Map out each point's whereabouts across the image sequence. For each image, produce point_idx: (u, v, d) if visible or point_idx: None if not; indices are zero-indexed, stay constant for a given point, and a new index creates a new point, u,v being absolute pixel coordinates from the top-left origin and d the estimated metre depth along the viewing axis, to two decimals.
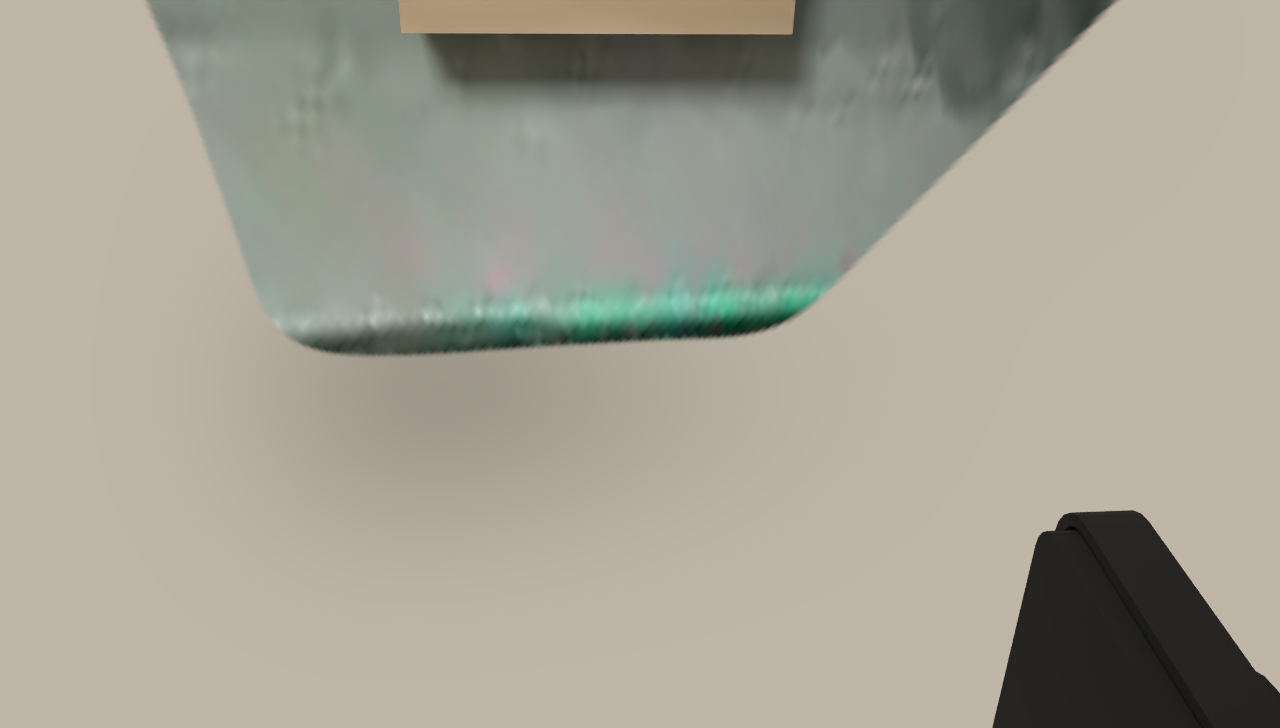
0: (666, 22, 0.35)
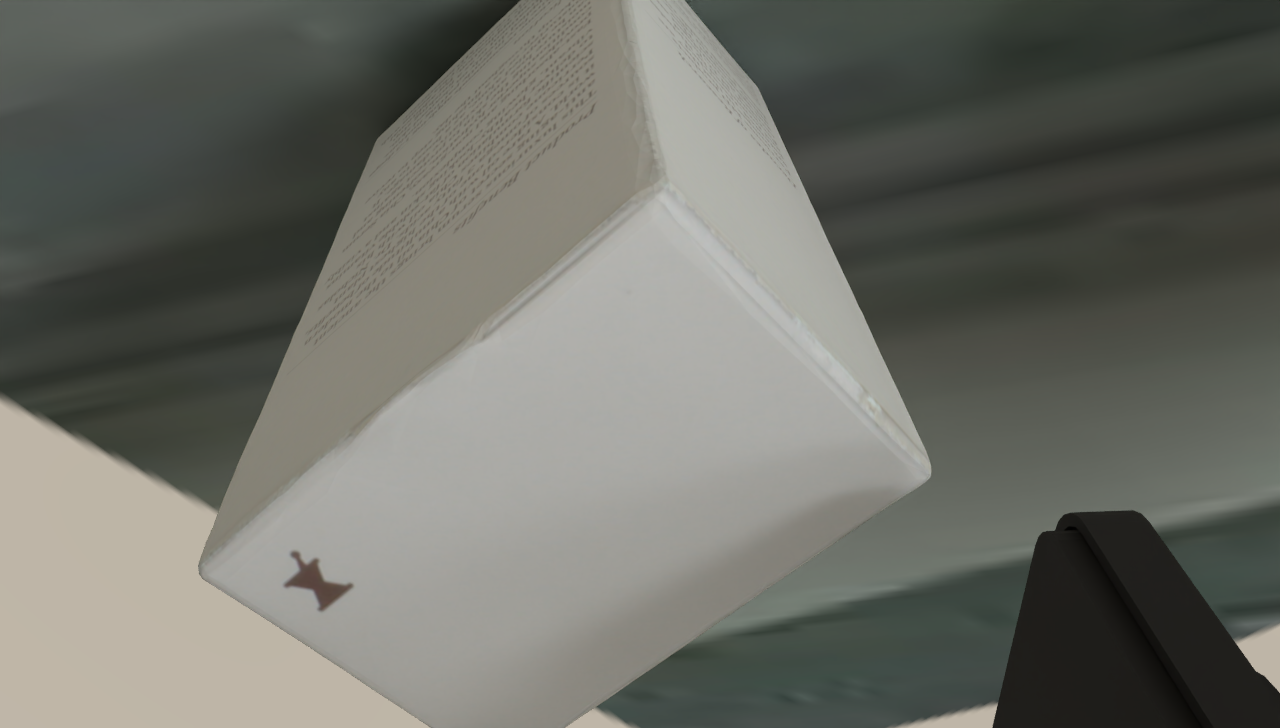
0: None
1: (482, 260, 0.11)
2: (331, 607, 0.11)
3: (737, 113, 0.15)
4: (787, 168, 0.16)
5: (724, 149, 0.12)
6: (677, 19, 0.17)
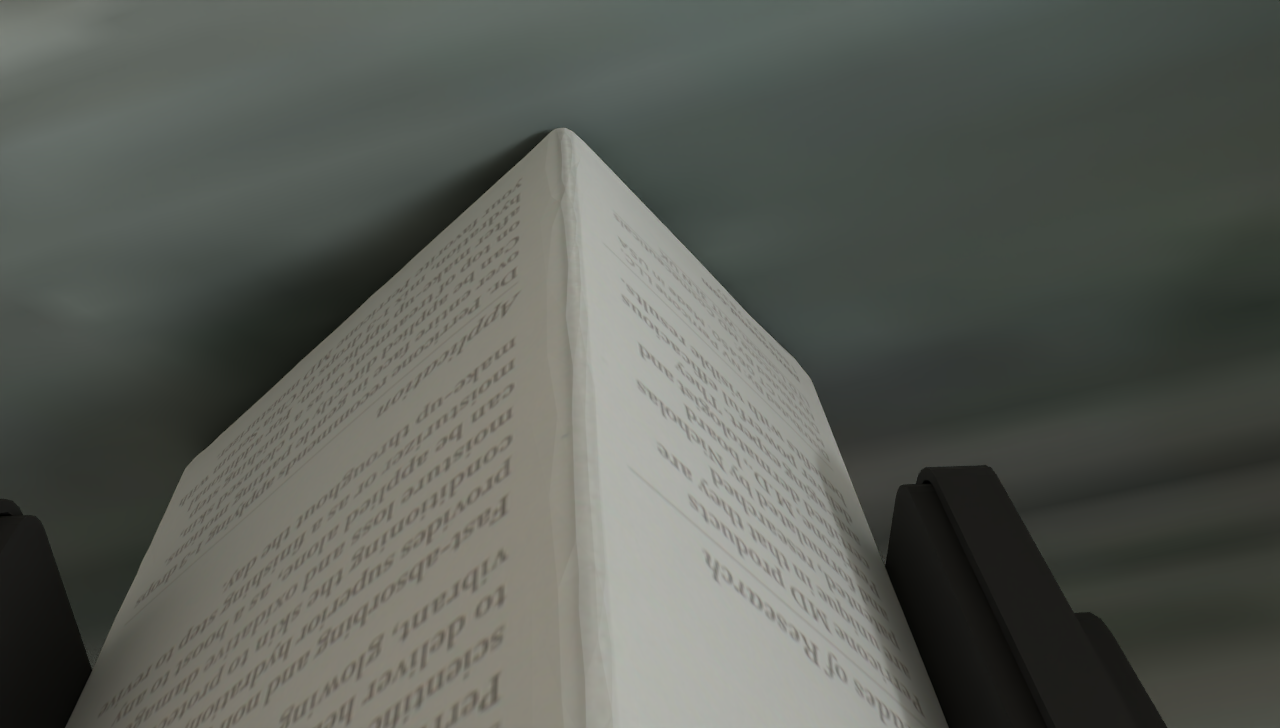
0: None
1: None
2: None
3: (822, 622, 0.07)
4: (913, 686, 0.08)
5: None
6: (688, 369, 0.09)
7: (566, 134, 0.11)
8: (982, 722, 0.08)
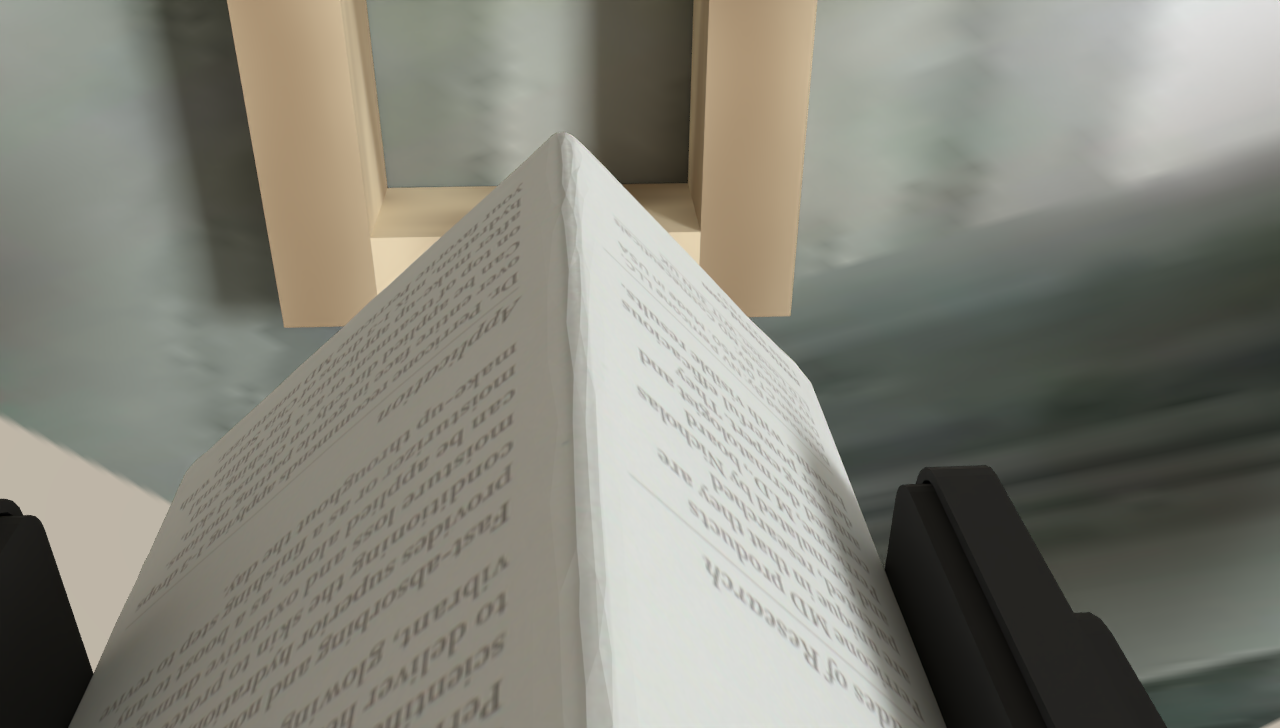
0: (272, 168, 0.25)
1: None
2: None
3: (822, 627, 0.07)
4: (912, 691, 0.08)
5: None
6: (689, 375, 0.09)
7: (567, 139, 0.11)
8: (982, 722, 0.08)
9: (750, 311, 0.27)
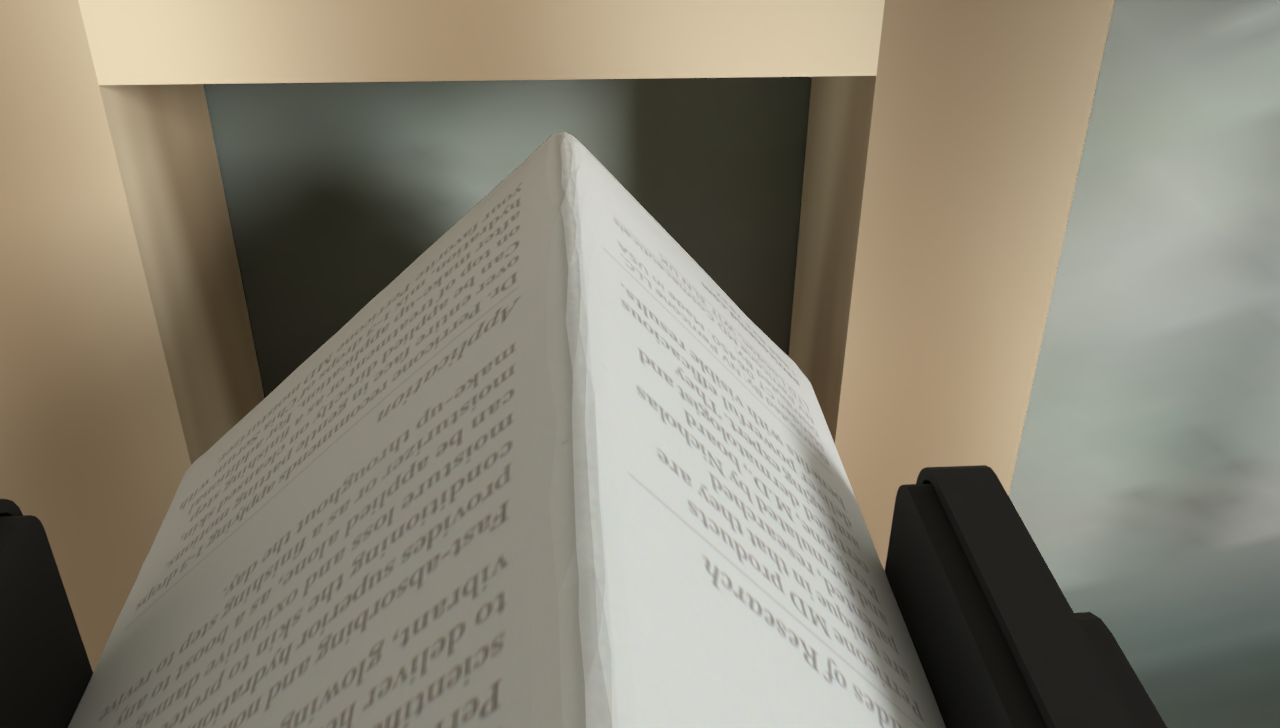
0: None
1: None
2: None
3: (821, 627, 0.07)
4: (912, 691, 0.08)
5: None
6: (688, 374, 0.09)
7: (566, 139, 0.11)
8: (982, 722, 0.08)
9: None
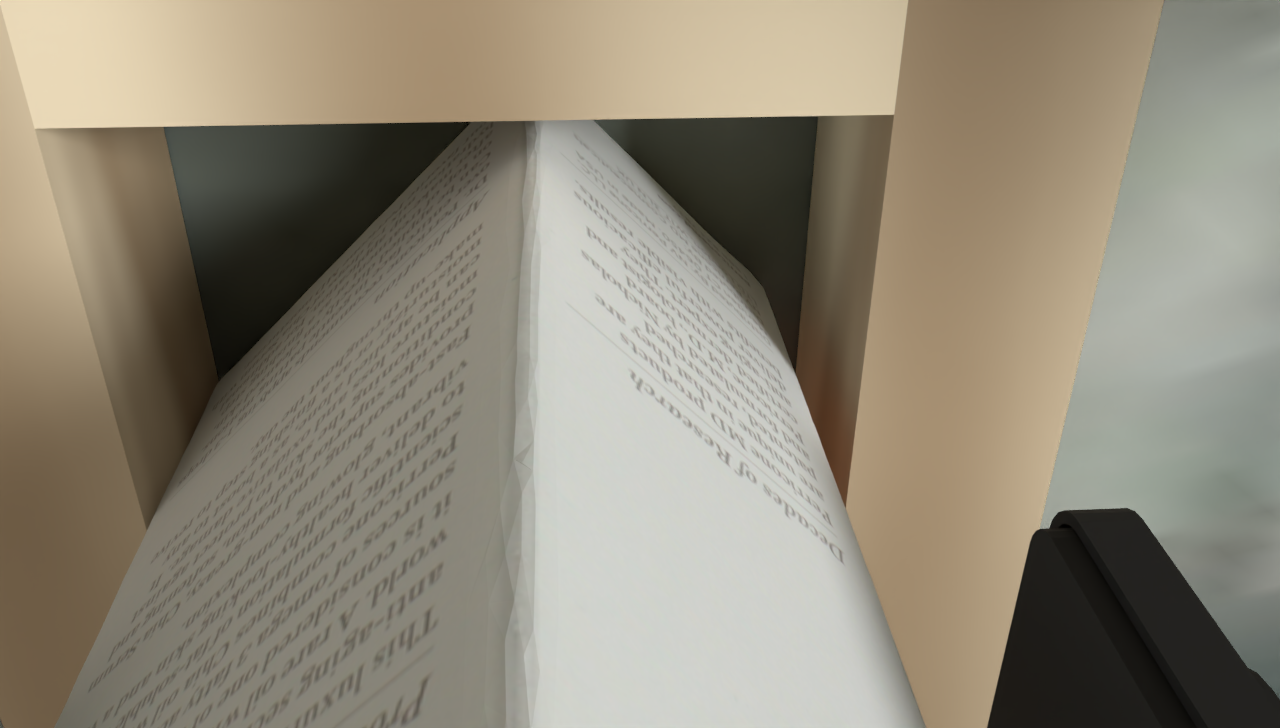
0: None
1: None
2: None
3: (738, 442, 0.09)
4: (825, 505, 0.10)
5: (720, 678, 0.06)
6: (634, 254, 0.10)
7: None
8: None
9: None
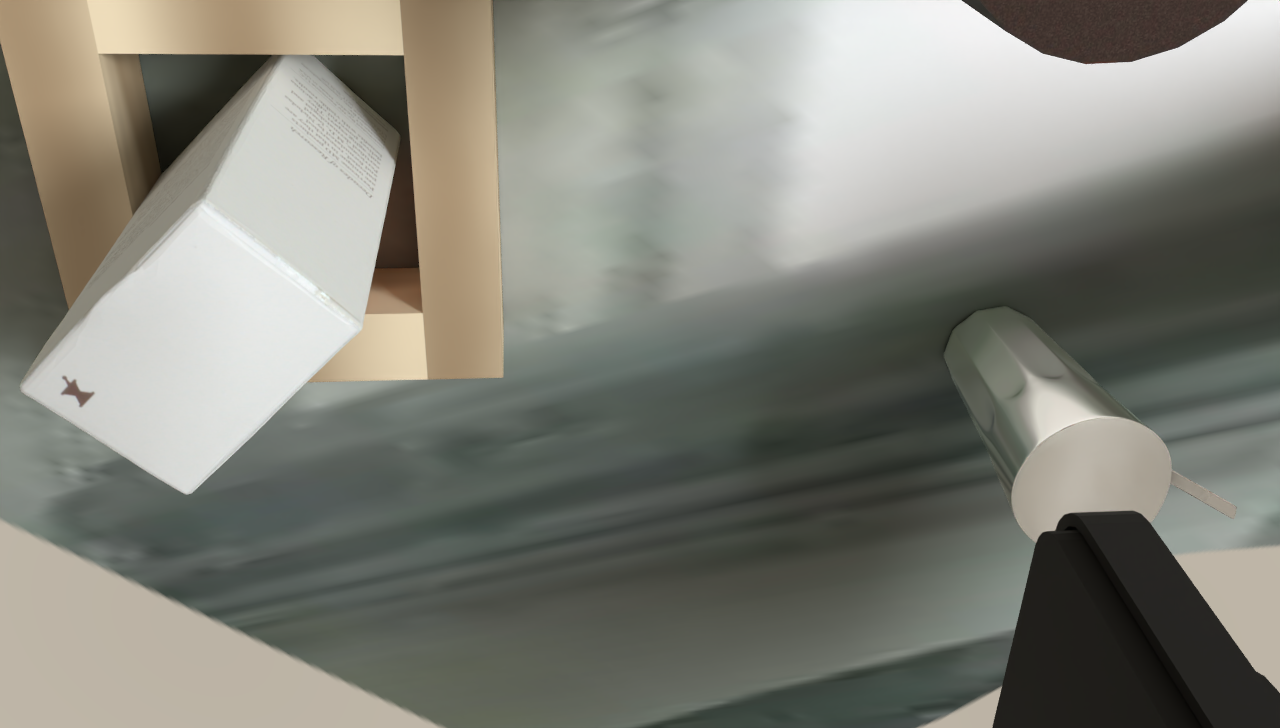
0: (70, 265, 0.31)
1: (148, 237, 0.23)
2: (85, 404, 0.23)
3: (335, 157, 0.28)
4: (373, 186, 0.29)
5: (288, 180, 0.25)
6: (314, 103, 0.29)
7: None
8: None
9: (470, 374, 0.34)
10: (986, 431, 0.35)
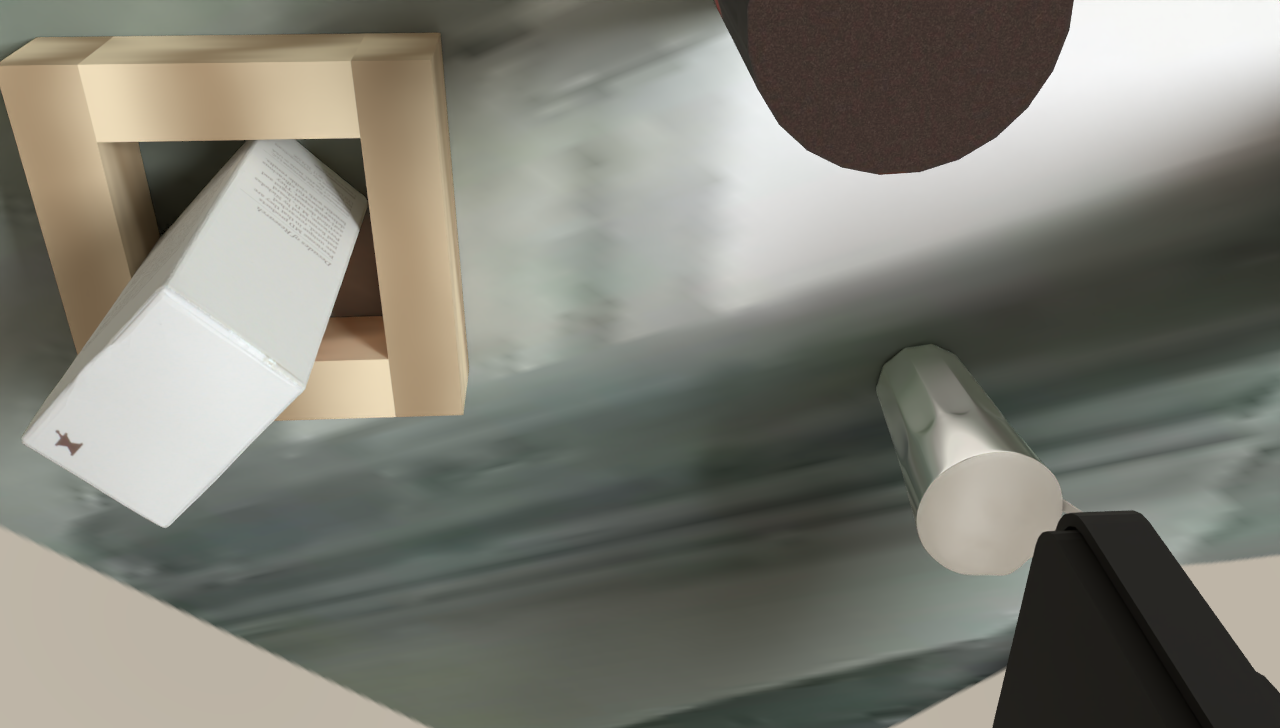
0: (79, 321, 0.35)
1: (126, 312, 0.27)
2: (75, 453, 0.27)
3: (298, 231, 0.32)
4: (333, 254, 0.33)
5: (249, 258, 0.29)
6: (283, 181, 0.33)
7: None
8: None
9: (433, 412, 0.38)
10: (902, 462, 0.38)
